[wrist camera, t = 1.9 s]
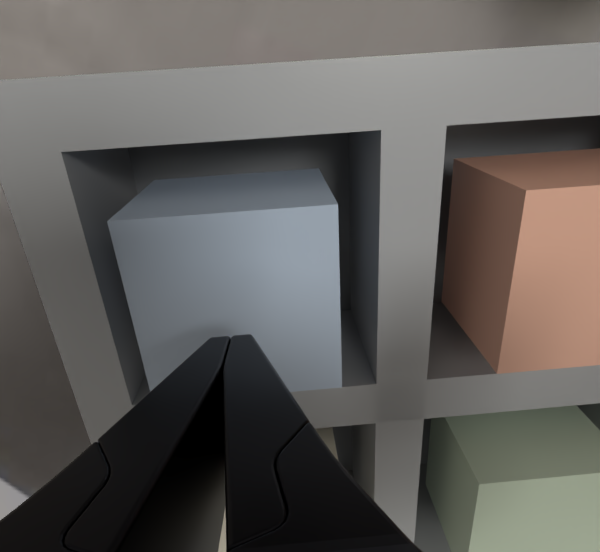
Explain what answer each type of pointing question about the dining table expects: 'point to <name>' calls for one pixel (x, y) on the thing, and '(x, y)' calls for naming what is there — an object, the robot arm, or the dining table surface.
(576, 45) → the keypad
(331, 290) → the key slate
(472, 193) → the key terracotta
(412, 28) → the dining table surface
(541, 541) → the key sage
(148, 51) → the dining table surface
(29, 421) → the dining table surface
